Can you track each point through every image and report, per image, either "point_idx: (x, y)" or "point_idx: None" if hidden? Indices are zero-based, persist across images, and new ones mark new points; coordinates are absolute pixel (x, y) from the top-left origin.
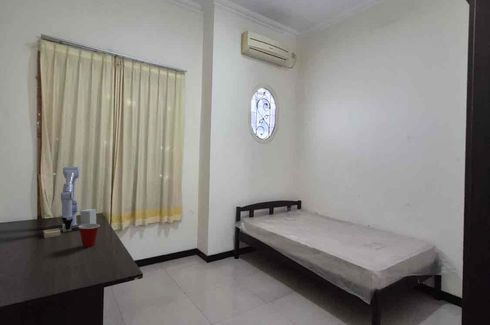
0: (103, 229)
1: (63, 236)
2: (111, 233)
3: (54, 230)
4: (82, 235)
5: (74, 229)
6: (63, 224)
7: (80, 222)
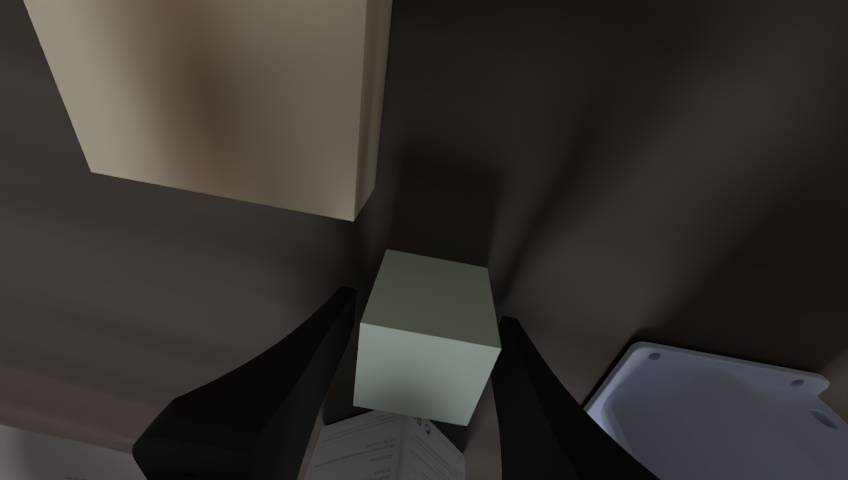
0: None
1: None
2: (50, 433)
3: (195, 97)
4: None
5: None
6: (440, 344)
7: (398, 477)
